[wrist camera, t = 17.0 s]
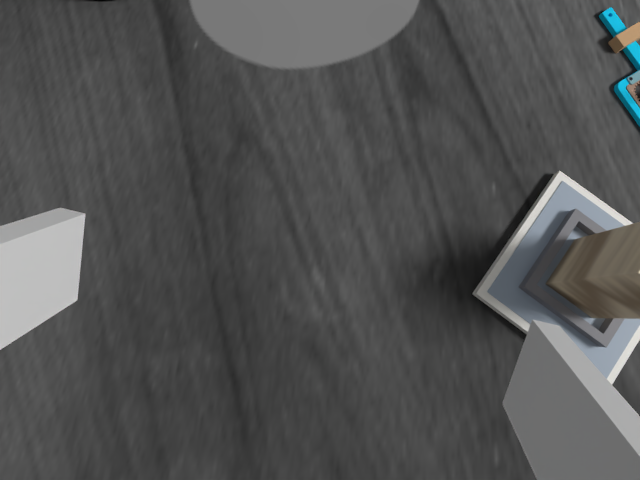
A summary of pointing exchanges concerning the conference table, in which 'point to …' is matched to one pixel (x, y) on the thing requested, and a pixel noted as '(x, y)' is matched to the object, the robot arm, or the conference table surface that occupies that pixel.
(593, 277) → the beech column
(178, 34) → the conference table surface
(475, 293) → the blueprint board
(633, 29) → the gear mechanism
